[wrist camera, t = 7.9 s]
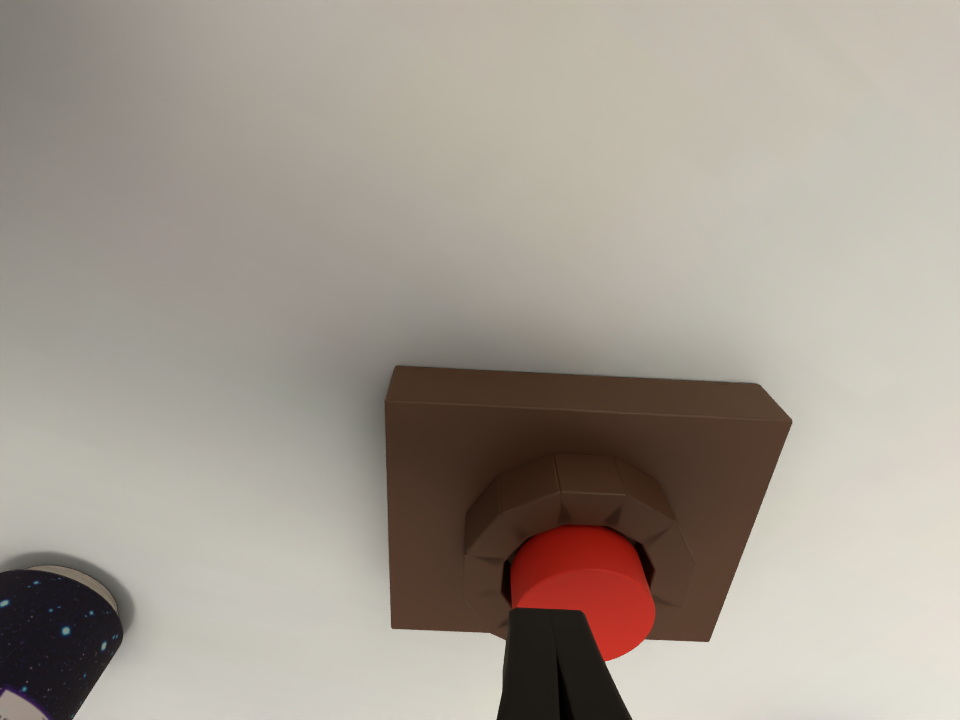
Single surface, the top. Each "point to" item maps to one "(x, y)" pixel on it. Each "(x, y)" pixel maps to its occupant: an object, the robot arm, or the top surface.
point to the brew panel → (570, 486)
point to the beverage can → (53, 641)
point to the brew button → (587, 583)
